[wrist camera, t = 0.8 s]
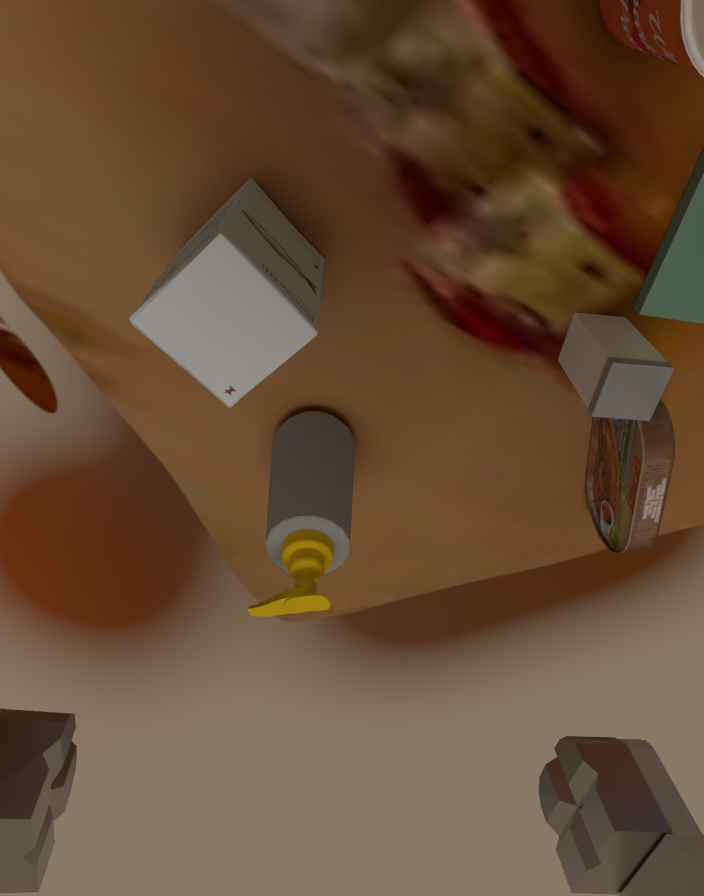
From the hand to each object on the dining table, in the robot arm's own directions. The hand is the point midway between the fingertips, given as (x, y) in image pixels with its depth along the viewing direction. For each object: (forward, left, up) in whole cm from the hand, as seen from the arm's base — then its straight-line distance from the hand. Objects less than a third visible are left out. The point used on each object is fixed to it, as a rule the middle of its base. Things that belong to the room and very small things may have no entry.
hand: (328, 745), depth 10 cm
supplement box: (+5, -5, -37) cm, 38 cm away
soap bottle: (+20, +1, -37) cm, 42 cm away
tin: (+16, +26, -37) cm, 48 cm away
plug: (+7, +21, -37) cm, 43 cm away
